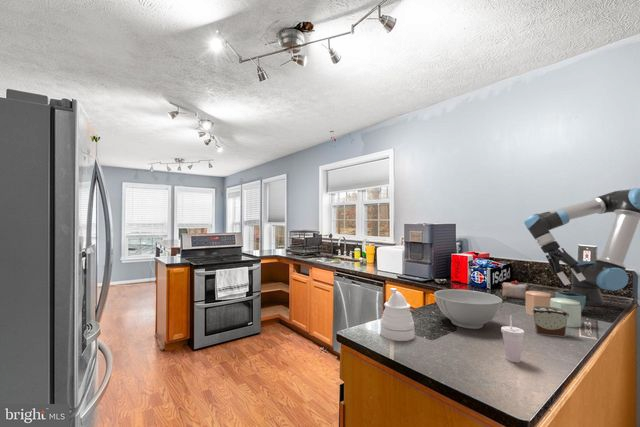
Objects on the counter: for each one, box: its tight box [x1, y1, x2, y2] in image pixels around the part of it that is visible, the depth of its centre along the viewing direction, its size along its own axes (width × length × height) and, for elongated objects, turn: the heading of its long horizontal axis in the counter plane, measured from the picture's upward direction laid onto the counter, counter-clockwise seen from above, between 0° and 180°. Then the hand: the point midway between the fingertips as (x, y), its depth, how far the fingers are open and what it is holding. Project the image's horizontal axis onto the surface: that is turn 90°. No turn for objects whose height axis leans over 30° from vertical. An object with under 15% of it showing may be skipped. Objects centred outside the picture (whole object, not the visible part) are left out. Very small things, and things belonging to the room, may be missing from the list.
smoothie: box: [500, 315, 525, 363], centre depth 97 cm, size 6×6×14 cm
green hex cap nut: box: [550, 297, 582, 328], centre depth 133 cm, size 10×10×10 cm
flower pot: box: [555, 291, 586, 313], centre depth 150 cm, size 9×9×9 cm
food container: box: [531, 306, 569, 338], centre depth 121 cm, size 12×6×10 cm, turn 71°
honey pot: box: [380, 287, 415, 342], centre depth 119 cm, size 13×13×18 cm
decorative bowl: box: [433, 288, 503, 330], centre depth 132 cm, size 27×27×12 cm
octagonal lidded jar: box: [525, 290, 553, 316], centre depth 147 cm, size 10×10×10 cm
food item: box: [501, 280, 530, 301], centre depth 180 cm, size 14×8×10 cm, turn 47°
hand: (575, 282), depth 147 cm, fingers open, 13 cm apart
